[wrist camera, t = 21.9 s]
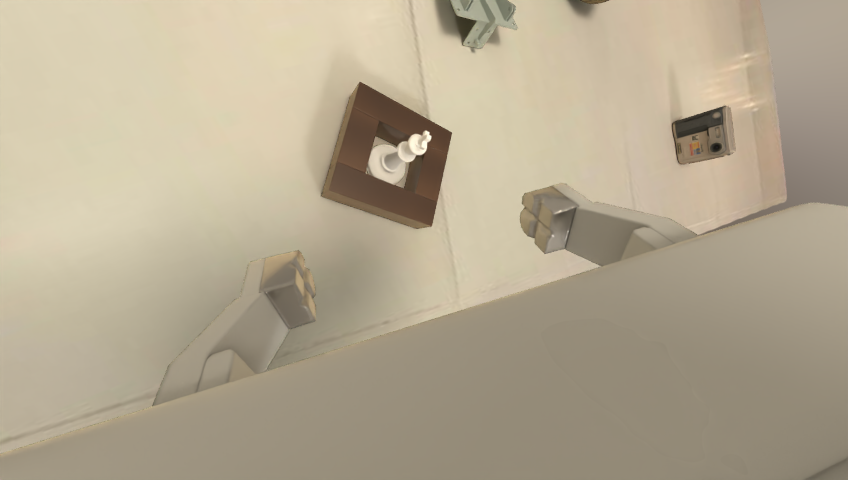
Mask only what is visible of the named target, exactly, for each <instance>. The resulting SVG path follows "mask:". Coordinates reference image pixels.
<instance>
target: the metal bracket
mask: <svg viewBox="0 0 848 480" xmlns="http://www.w3.org/2000/svg"><path fill="white" fill-rule="evenodd" d="M450 2H451V4H452V6H453V9H454V11H455V13H456V15H457V16H460V17H464V18H468V19H472V20H476V22H475V24H474V26H473V27H472V29H471V30H470V32H469V34H468V35H467V37H466V39H465V40H464V42H463V45H464V46H470V47H475V48H482V47H483V46H484V44H485V43H486V41H487V40H488V39H489V37H490V36H491V34H492V33H493V31H494V30H495V28H496V27H497V26H501V27H505V28H509V29H514V30H517V29H518V27H517V25H516V23H515V21H514V19H513V17H512V16H513V15H514V13H515V11H516V6H515V5H514V4H512V3H511V2H509V1H508V0H450ZM458 10H459V11H458ZM477 28H478V29H477ZM476 29H477V30H476ZM488 31H489V32H488ZM468 42H469V43H468Z"/></svg>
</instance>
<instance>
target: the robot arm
mask: <svg viewBox="0 0 848 480" xmlns="http://www.w3.org/2000/svg"><path fill="white" fill-rule="evenodd" d="M522 204H523V205H524V207H525V208H524V209H523V210H522V212H521V213H520V223H521V227H522V229H523V231H524V233H525V234H526V235H527V236H529V237H532V238H535V241H534V243H535V244H536V245H537V246H538V247H539V248H540V250H541V251H542V252H543V253H544V254H547V253H550V252H554V251H558V250H562V249H565V250H568V251H570V252H572V253H574V254H576V255H578V256H581V257H583V258H585V259H587V260H589V261H591V262H593V263H596V264H598V265H600V266H602V267H599V268H595V269H592V270H589V271H586V272H583V273H580V274H576V275H573V276H570V277H567V278H563V279H560V280H557V281H554V282H550V283H547V284H544V285H541V286H538V287H534V288H531V289H528V290H525V291H521V292H518V293H515V294H512V295H508V296H505V297H502V298H499V299H496V300H492V301H489V302H486V303H483V304H480V305H476V306H473V307H470V308H467V309H464V310H460V311H457V312H454V313H451V314H448V315H444V316H441V317H438V318H435V319H432V320H428V321H425V322H422V323H419V324H416V325H412V326H409V327H406V328H403V329H400V330H396V331H393V332H390V333H387V334H384V335H380V336H377V337H374V338H371V339H367V340H364V341H361V342H358V343H355V344H351V345H348V346H345V347H342V348H339V349H335V350H332V351H329V352H326V353H323V354H319V355H316V356H313V357H310V358H306V359H303V360H300V361H297V362H294V363H290V364H287V365H284V366H281V367H278V368H274V369H271V370H268V371H266V370H267V368H268V366H269V364H270V363H271V361H272V359H273V358H274V356H275V354H276V353H277V351H278V349H279V348H280V346H281V344H282V343H283V341H284V339H285V338H286V336H287V334H288V333H289V329H292V328H296V327H299V326H302V325H305V324H308V323H311V322H314V321H316V305H315V303H314V301H313V298H314V297H315V285H314V280H313V277H312V274H311V272H310V270H309V269H308V268H306V267H304V261H305V259H304V257H303V255H302V253H301V252H300V251H299V250H297V251H293V252H288V253H284V254H280V255H275V256H271V257H267V258H263V259H259V260H255V261H251V262H250V263H249V264H248V267H247V271H246V275H245V279H244V283H243V287H242V291H241V295H240V298H238V299H235V300H234V301H233V302H232V303H231V304H230V305H229V306H228V307H227V308H226V309H225V310H224V311H223V312H222V313H221V314H220V315H219V316H218V317H217V318H216V319H215V320H214V321H213V322H212V323H211V324H210V325H209V326H208V327H207V328H206V329H205V330H204V331H203V332H202V333H201V334H200V335H199V336H198V337H197V338H196V339H195V340H194V341H192V342H191V343H190V344H189V345H188V346H187V347H186V348H185V349H184V350H183V351H182V352H181V353H180V354H179V355H178V356H177V357H176V358H175V359H174V360H173V361H172V362H171V363H170V364H169V365H168V368H167V370H166V373H165V375H164V378H163V380H162V383H161V385H160V388H159V390H158V393H157V395H156V398H155V400H154V403H153V405H152V407H149V408H146V409H143V410H139V411H136V412H133V413H130V414H127V415H123V416H120V417H117V418H114V419H110V420H107V421H104V422H101V423H98V424H94V425H91V426H88V427H85V428H82V429H78V430H75V431H72V432H69V433H65V434H62V435H59V436H56V437H53V438H49V439H46V440H43V441H40V442H36V443H33V444H30V445H27V446H24V447H20V448H17V449H14V450H11V451H7V452H4V453H1V454H0V480H848V207H845V206H838V205H831V204H822V203H807V204H802V205H797V206H794V207H791V208H788V209H784V210H781V211H778V212H775V213H772V214H769V215H765V216H762V217H759V218H756V219H753V220H750V221H746V222H743V223H740V224H736V225H733V226H730V227H727V228H724V229H720V230H717V231H714V232H711V233H708V234H705V235H701V236H699V235H697V234H695V233H694V232H692V231H690V230H689V229H687V228H685V227H684V226H682V225H680V224H678V223H677V222H675V221H673V220H672V219H670V218H665V217H661V216H657V215H652V214H648V213H644V212H639V211H635V210H630V209H626V208H622V207H617V206H613V205H609V204H604V203H600V202H594V203H593V202H591V201H590V200H588V199H587V198H586V197H584V196H583V195H581V194H580V193H578V192H577V191H575V190H574V189H572V188H571V187H569V186H568V185H567V184H564V183H559V184H556V185H552V186H549V187H547V188H543V189H539V190H535V191H531V192H528V193H525V194H524V196H523V198H522Z"/></svg>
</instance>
